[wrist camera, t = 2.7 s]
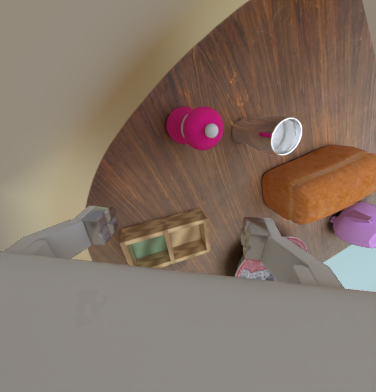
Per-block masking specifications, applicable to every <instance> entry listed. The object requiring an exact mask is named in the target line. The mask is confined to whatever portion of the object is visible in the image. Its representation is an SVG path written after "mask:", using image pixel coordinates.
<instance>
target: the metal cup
mask: <svg viewBox="0 0 376 392" xmlns="http://www.w3.org/2000/svg"><path fill="white" fill-rule="evenodd" d="M231 134H232V138H233V140H234V141H235V142H236V143H238V144H248V145H249V146H251V147H253V148H254V149H256V150H258V151H261V152H264V153H268V154H275V155H280V156H284V155H287V154H289V153H291V152H292V151H293V150H294V149H295V148H296V147H297V146H298V144H299V142H300V140H301V137H302V125H301V123H300V121H299V120H298V119H296V118H293V117H281V116H270V117H264V118H260V119H256V120H249V119H240V120H238V121H237V122H236V123H235V124H234V126H233V128H232V132H231Z"/></svg>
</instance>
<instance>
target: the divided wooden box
mask: <svg viewBox="0 0 376 392" xmlns="http://www.w3.org/2000/svg"><path fill="white" fill-rule="evenodd" d="M119 244H120V246H121V248H122V251H123V253H124V255H125V258H126V260H127V262H128V265H131V266H140V267H149V268H161V267H164V266H167V265H170V264H173V263H176V262H179V261H183V260H186V259H189V258H192V257H195V256H198V255H201V254H204V253H208V252H211V249H210V240H209V231H208V221H207V218H206V216H205V215H204V213H203V212H202V210H201V209H200V208H198V209H194V210H190V211H186V212H183V213H179V214H175V215H172V216H168V217H164V218H160V219H157V220H153V221H149V222H146V223H142V224H138V225H135V226H131V227H127V228H123V229H121V236H120V243H119Z"/></svg>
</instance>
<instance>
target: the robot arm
mask: <svg viewBox="0 0 376 392" xmlns="http://www.w3.org/2000/svg"><path fill="white" fill-rule="evenodd" d="M115 213H116V212H115V209H114V208H113V207H103V206H88V207H87V208H86V209H85V210H83V211H82V212H81V213H80V214H79V215H77V216H76V217H75V218H74V219H72V220H68V221H65V222H63V223H60V224H57V225H55V226H52V227H49V228H47V229H44V230H41V231H39V232H36V233H33V234H31V235H28V236H26V237H23V238H22V239H20V240H19V241H18V242H16V243H15V244H13V245H12V246H10V247H9V248H8V249H6V250H5V251H3V252H2V251H0V392H376V292H369V291H360V290H351V289H345V288H344V287H343V286H342V284H341V283H340V281H339V280H338V279H337V277H336V276H335V274H334V273H333V272H332V270H331V269H330V267H328V266H327V265H325V264H324V263H322V262H321V261H319V260H318V259H316V258H315V257H313V256H312V255H310V254H309V253H307V252H306V251H304V250H303V249H301V248H300V247H299V246H297V245H296V244H294V243H293V242H291V241H290V240H288V239H287V238H285V237H282V236H281V234H280V232H279V231H278V229H277V227H276V225H275V223H274V221H273V219H272V218H254V217H244V219H243V226H244V227H243V228H242V229H241V244H242V245H243V253H244V258H245V259H248V260H256V261H260V262H261V263H262V264H263V265H264V266H265V267H266V269H267V270H268V271H269V272H270V273H271V274H272V275H273V276H274V278H275V279H276V280H277V281H278V282H277V281H268V280H259V279H249V278H240V277H231V276H222V275H213V274H204V273H195V272H185V271H176V270H167V269H158V268H149V267H140V266H131V265H122V264H112V263H103V262H94V261H84V260H74V259H71V258H73V257H74V256H76V255H78V254H79V253H81V252H82V251H83V250H85V249H87V248H88V247H90V246H91V245H106V243H107V242H108V241H109V239H110V238H111V237H110V235H111V234H113V233H115V231H116V230H117V227H118V220H117V218H116V217H115V216H114V215H115Z"/></svg>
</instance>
